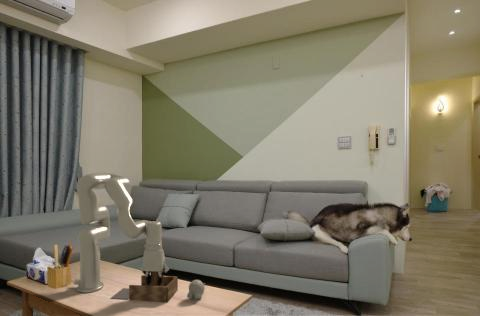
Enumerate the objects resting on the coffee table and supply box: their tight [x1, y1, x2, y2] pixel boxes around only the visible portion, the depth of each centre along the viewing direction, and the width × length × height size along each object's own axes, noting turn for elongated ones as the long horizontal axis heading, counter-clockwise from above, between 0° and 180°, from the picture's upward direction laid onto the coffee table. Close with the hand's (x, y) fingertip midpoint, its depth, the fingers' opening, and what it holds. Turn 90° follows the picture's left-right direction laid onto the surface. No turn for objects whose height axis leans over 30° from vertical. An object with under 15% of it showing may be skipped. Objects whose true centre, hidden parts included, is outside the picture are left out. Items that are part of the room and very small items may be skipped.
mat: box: [110, 287, 129, 301], centre depth 159 cm, size 9×12×1 cm
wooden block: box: [148, 272, 164, 286], centre depth 158 cm, size 9×4×18 cm, turn 148°
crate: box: [128, 274, 179, 303], centre depth 157 cm, size 19×14×7 cm
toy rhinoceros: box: [186, 279, 206, 300], centre depth 155 cm, size 7×12×8 cm, turn 160°
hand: (154, 283), depth 157 cm, fingers closed on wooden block, 5 cm apart
